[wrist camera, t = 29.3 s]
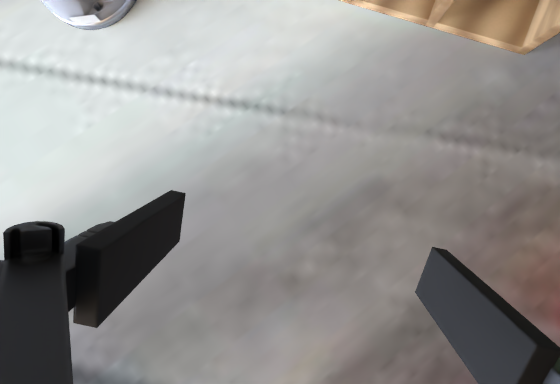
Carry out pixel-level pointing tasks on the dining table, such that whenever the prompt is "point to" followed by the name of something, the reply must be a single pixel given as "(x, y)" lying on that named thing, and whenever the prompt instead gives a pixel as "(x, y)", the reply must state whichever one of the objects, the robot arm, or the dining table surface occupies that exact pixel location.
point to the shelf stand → (480, 19)
